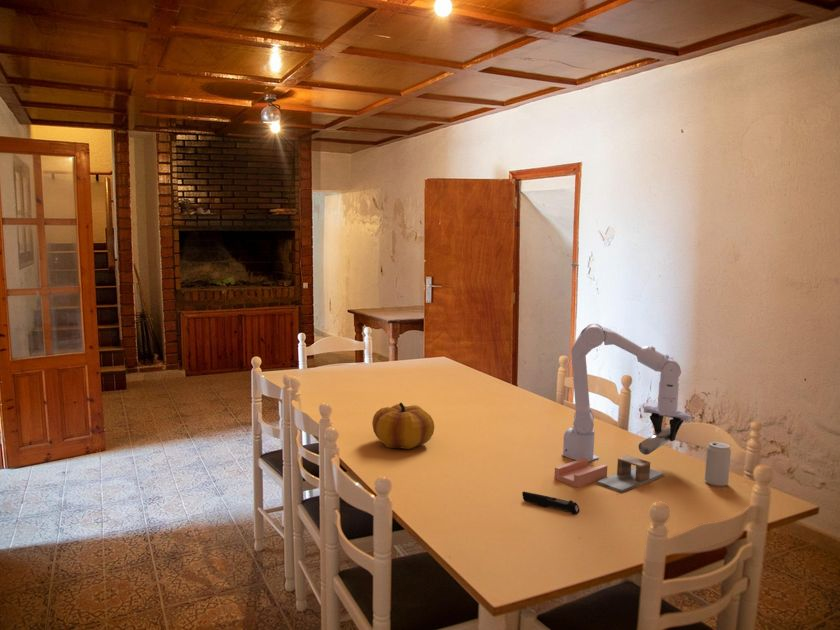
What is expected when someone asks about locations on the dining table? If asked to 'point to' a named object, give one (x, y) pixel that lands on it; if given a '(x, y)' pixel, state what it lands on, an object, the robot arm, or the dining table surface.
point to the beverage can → (717, 464)
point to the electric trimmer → (551, 502)
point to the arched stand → (630, 474)
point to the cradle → (580, 473)
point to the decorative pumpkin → (403, 426)
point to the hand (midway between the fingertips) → (665, 438)
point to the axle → (655, 441)
